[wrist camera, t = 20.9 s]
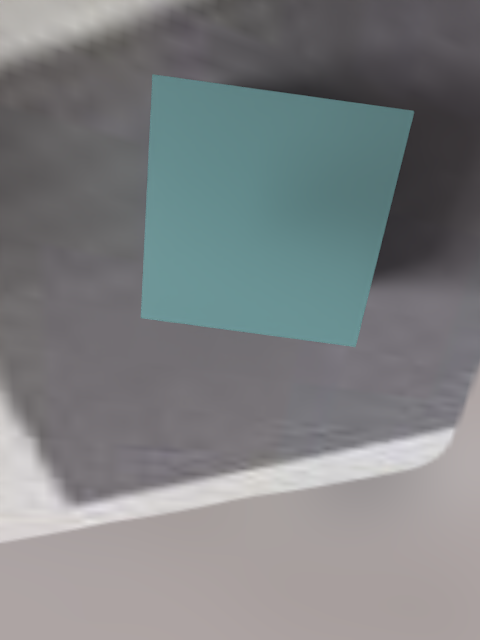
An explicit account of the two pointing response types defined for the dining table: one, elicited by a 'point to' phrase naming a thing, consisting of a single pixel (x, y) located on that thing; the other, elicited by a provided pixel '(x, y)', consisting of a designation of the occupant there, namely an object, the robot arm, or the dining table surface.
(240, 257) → the teal cube
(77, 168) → the dining table surface
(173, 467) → the dining table surface
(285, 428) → the dining table surface
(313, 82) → the dining table surface
